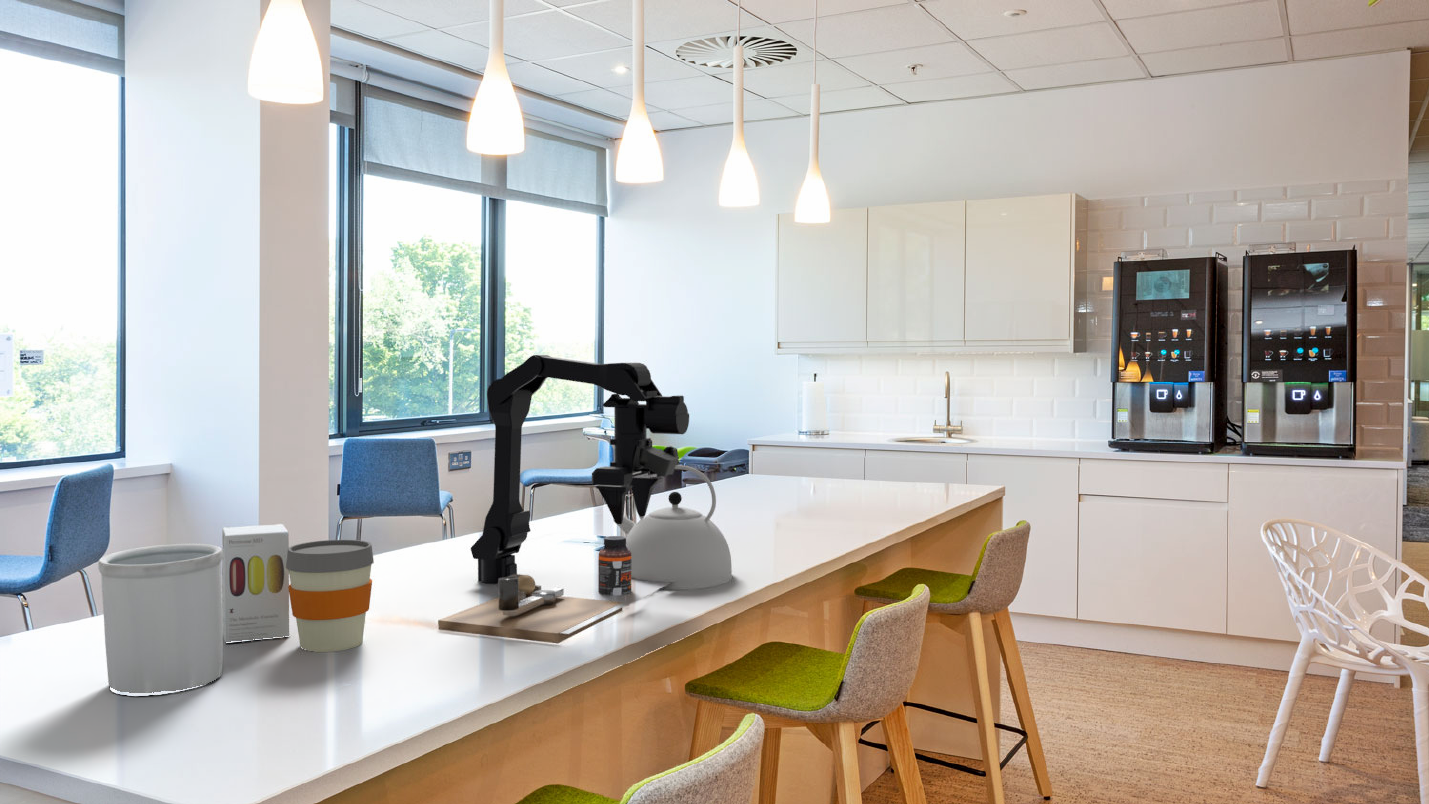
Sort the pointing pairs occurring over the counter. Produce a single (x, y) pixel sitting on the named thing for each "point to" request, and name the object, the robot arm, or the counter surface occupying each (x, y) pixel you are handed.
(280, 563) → the supplement box
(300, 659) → the counter surface
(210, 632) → the utensil holder
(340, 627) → the reusable coffee cup
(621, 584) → the supplement bottle
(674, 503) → the kettle
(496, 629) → the base
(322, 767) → the counter surface
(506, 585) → the lever
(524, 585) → the nut
